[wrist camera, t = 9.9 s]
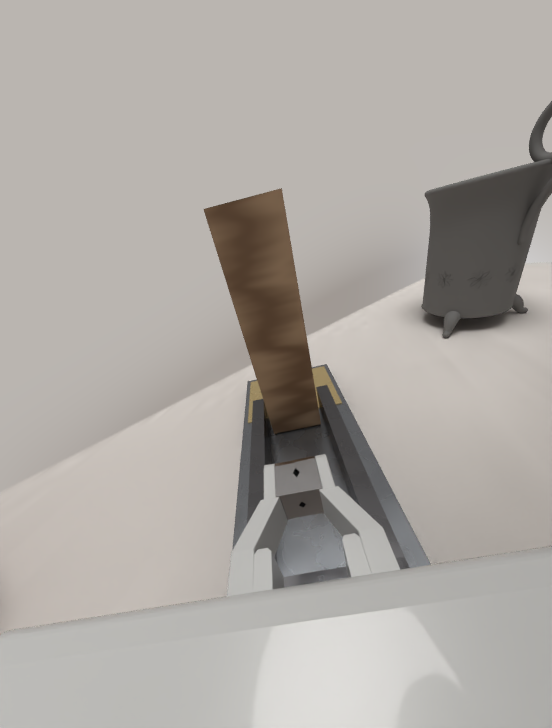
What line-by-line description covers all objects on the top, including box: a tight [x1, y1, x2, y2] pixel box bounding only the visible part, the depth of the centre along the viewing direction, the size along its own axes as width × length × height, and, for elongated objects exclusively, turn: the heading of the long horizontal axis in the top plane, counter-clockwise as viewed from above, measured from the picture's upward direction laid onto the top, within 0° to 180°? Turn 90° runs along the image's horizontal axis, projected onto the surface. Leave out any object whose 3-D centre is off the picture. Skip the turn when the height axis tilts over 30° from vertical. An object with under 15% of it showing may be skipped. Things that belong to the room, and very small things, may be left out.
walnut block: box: [204, 189, 321, 434], centre depth 22 cm, size 5×6×20 cm
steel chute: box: [232, 364, 431, 587], centre depth 23 cm, size 12×25×4 cm, turn 3°
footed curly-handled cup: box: [422, 101, 552, 338], centre depth 32 cm, size 19×15×25 cm
